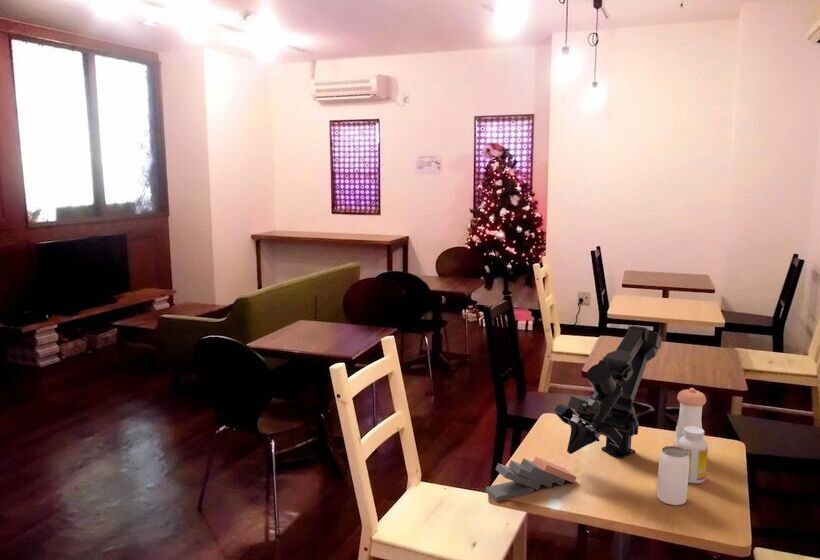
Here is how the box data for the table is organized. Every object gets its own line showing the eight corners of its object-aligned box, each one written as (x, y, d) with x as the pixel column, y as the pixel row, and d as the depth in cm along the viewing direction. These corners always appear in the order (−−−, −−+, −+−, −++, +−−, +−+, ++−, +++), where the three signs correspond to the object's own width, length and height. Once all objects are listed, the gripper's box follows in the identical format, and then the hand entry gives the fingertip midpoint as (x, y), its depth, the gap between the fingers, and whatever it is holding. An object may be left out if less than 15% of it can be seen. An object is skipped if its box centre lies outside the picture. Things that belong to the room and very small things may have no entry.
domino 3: (542, 473, 161) (511, 460, 158) (553, 481, 157) (521, 468, 153) (539, 479, 161) (508, 466, 158) (550, 487, 157) (518, 474, 153)
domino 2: (521, 479, 159) (485, 487, 155) (532, 488, 155) (496, 496, 151) (521, 485, 159) (485, 493, 156) (532, 494, 155) (496, 503, 151)
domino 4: (554, 471, 163) (523, 458, 159) (565, 479, 158) (533, 466, 154) (551, 476, 163) (520, 464, 159) (562, 485, 158) (531, 472, 154)
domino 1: (530, 475, 160) (498, 463, 157) (541, 484, 156) (507, 471, 152) (528, 481, 160) (495, 469, 157) (538, 490, 156) (504, 477, 152)
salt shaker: (667, 455, 174) (672, 387, 171) (681, 448, 179) (686, 382, 175) (693, 465, 169) (698, 395, 165) (707, 457, 173) (712, 389, 170)
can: (689, 507, 148) (693, 458, 146) (659, 504, 149) (662, 456, 147) (683, 493, 154) (686, 446, 152) (654, 491, 155) (657, 444, 153)
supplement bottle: (703, 474, 164) (707, 426, 162) (706, 486, 158) (710, 436, 155) (675, 470, 166) (679, 422, 164) (676, 482, 160) (680, 433, 158)
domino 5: (564, 468, 164) (535, 456, 160) (576, 477, 159) (546, 464, 155) (562, 474, 164) (532, 462, 160) (573, 483, 159) (544, 470, 155)
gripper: (559, 373, 168) (526, 423, 164) (617, 395, 152) (581, 450, 148) (580, 397, 173) (548, 445, 169) (637, 420, 158) (604, 473, 154)
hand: (568, 452), depth 160 cm, fingers closed
